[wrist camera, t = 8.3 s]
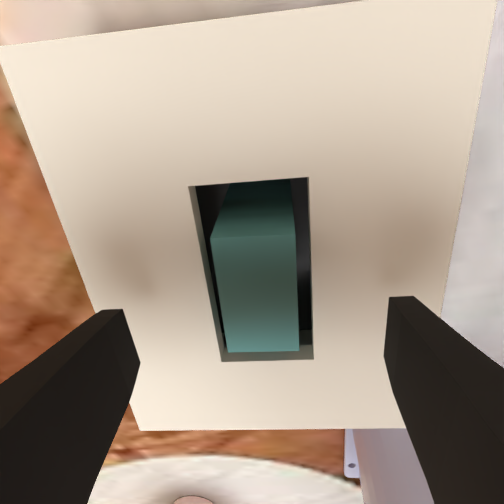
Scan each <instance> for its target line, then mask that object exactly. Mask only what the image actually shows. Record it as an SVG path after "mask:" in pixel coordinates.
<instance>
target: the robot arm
mask: <svg viewBox="0 0 504 504" xmlns="http://www.w3.org/2000/svg"><path fill="white" fill-rule="evenodd" d="M383 356H384V360H385V364H386V368H387V373H388V377H389V381H390V384H391V388H392V392H393V395H394V397H395V400H396V403H397V405H398V408H399V411H400V413H401V416H402V419H403V421H404V424H405V426H406V428H378V429H345V436H344V474H345V476H347V477H349V478H360V483H361V489H362V494H363V499H364V504H504V368H503V367H501V366H500V365H499V364H497V363H496V362H494V361H493V360H492V359H490V358H489V357H488V356H487V355H485V354H484V353H483V352H481V351H480V350H479V349H477V348H476V347H475V346H474V345H472V344H471V343H470V342H469V341H467V340H466V339H465V338H464V337H462V336H461V335H460V334H459V333H457V332H456V331H455V330H454V329H453V328H451V327H450V326H449V325H448V324H447V323H445V322H444V321H443V320H442V319H441V318H439V317H438V316H437V315H436V314H435V313H433V312H432V311H431V310H430V309H429V308H428V307H426V306H425V305H424V304H423V303H422V302H421V301H419V300H418V299H417V298H416V297H414V296H397V297H389V302H388V312H387V323H386V334H385V344H384V355H383ZM140 363H141V362H140V359H139V356H138V353H137V350H136V347H135V344H134V341H133V338H132V335H131V332H130V329H129V326H128V323H127V320H126V317H125V314H124V311H123V309H105V310H101V311H99V312H98V313H96V314H95V315H93V316H92V317H90V318H89V319H88V320H86V321H85V322H84V323H82V324H81V325H80V326H78V327H77V328H76V329H74V330H73V331H72V332H70V333H69V334H68V335H66V336H65V337H64V338H63V339H61V340H60V341H59V342H57V343H56V344H55V345H53V346H52V347H51V348H49V349H48V350H47V351H45V352H44V353H43V354H41V355H40V356H39V357H38V358H36V359H35V360H34V361H32V362H31V363H29V364H28V365H27V366H25V367H24V368H22V369H21V370H20V371H18V372H17V373H15V374H14V375H13V376H11V377H10V378H8V379H7V380H5V381H4V382H3V383H1V384H0V504H87V503H88V500H89V497H90V494H91V492H92V489H93V486H94V484H95V481H96V479H97V476H98V474H99V472H100V469H101V467H102V465H103V462H104V460H105V458H106V455H107V453H108V451H109V448H110V446H111V444H112V441H113V439H114V437H115V434H116V432H117V430H118V427H119V425H120V423H121V420H122V418H123V416H124V413H125V411H126V408H127V406H128V404H129V401H130V399H131V396H132V393H133V389H134V386H135V382H136V379H137V375H138V371H139V367H140Z"/></svg>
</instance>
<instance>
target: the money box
mask: <svg viewBox="0 0 504 504" xmlns="http://www.w3.org/2000/svg"><path fill="white" fill-rule="evenodd" d="M496 5H497V0H363V1H355V2H347V3H339V4H332V5H324V6H316V7H308V8H300V9H292V10H284V11H276V12H268V13H260V14H252V15H244V16H236V17H228V18H220V19H212V20H204V21H196V22H188V23H180V24H172V25H164V26H156V27H148V28H141V29H133V30H125V31H117V32H109V33H101V34H93V35H85V36H77V37H69V38H61V39H53V40H45V41H37V42H29V43H21V44H13V45H5V46H0V63H1V66H2V68H3V71H4V74H5V76H6V79H7V81H8V84H9V87H10V89H11V92H12V95H13V97H14V100H15V103H16V105H17V108H18V110H19V113H20V116H21V118H22V121H23V124H24V126H25V129H26V132H27V134H28V137H29V139H30V142H31V145H32V147H33V150H34V153H35V155H36V158H37V160H38V163H39V166H40V168H41V171H42V174H43V176H44V179H45V182H46V184H47V187H48V189H49V192H50V195H51V197H52V200H53V203H54V205H55V208H56V210H57V213H58V216H59V218H60V221H61V224H62V226H63V229H64V232H65V234H66V237H67V239H68V242H69V245H70V247H71V250H72V253H73V255H74V258H75V261H76V263H77V266H78V268H79V271H80V274H81V276H82V279H83V282H84V284H85V287H86V289H87V292H88V295H89V297H90V300H91V303H92V305H93V308H94V311H95V313H98V312H99V311H101V310H105V309H123V311H124V314H125V317H126V320H127V323H128V326H129V329H130V332H131V335H132V338H133V341H134V344H135V347H136V350H137V353H138V356H139V359H140V362H141V363H140V367H139V371H138V375H137V379H136V382H135V386H134V389H133V393H132V396H131V399H130V401H129V403H130V405H131V408H132V411H133V413H134V416H135V418H136V421H137V424H138V426H139V429H140V431H152V430H265V429H378V428H406V426H405V424H404V421H403V419H402V416H401V413H400V411H399V408H398V405H397V403H396V400H395V397H394V395H393V392H392V388H391V384H390V381H389V377H388V373H387V368H386V364H385V360H384V356H383V355H384V344H385V334H386V323H387V312H388V302H389V297H397V296H414V297H416V298H417V299H418V300H419V301H421V302H422V303H423V304H424V305H425V306H426V307H428V308H429V309H430V310H431V311H432V312H433V313H435V314H436V315H437V316H438V317H439V318H440V316H441V310H442V304H443V299H444V293H445V288H446V282H447V277H448V271H449V266H450V260H451V255H452V249H453V243H454V238H455V232H456V227H457V221H458V216H459V210H460V205H461V199H462V194H463V188H464V182H465V177H466V171H467V166H468V160H469V155H470V149H471V144H472V138H473V133H474V127H475V122H476V116H477V110H478V105H479V99H480V94H481V88H482V83H483V77H484V72H485V66H486V61H487V55H488V49H489V44H490V38H491V33H492V27H493V22H494V16H495V11H496ZM287 178H290V183H291V194H292V204H293V215H294V225H295V239H296V268H297V297H298V326H299V351H277V352H228V349H227V343H226V337H225V330H224V324H223V318H222V311H221V305H220V299H219V292H218V286H217V280H216V273H215V267H214V261H213V254H212V248H211V242H210V237H211V234H212V232H213V229H214V226H215V223H216V221H217V218H218V215H219V212H220V210H221V207H222V204H223V201H224V198H225V196H226V193H227V190H228V187H229V185H230V183H237V182H249V181H262V180H275V179H287Z"/></svg>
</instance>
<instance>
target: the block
mask: <svg viewBox="0 0 504 504" xmlns="http://www.w3.org/2000/svg"><path fill="white" fill-rule="evenodd" d="M210 242H211V248H212V254H213V261H214V267H215V273H216V280H217V286H218V292H219V299H220V305H221V311H222V318H223V324H224V330H225V337H226V343H227V349H228V352H277V351H299V326H298V297H297V268H296V239H295V225H294V215H293V204H292V194H291V183H290V178H287V179H275V180H262V181H249V182H237V183H230V185H229V187H228V190H227V193H226V196H225V198H224V201H223V204H222V207H221V210H220V212H219V215H218V218H217V221H216V223H215V226H214V229H213V232H212V234H211V237H210Z"/></svg>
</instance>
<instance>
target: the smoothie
mask: <svg viewBox="0 0 504 504" xmlns="http://www.w3.org/2000/svg"><path fill="white" fill-rule="evenodd" d="M174 504H213V503H212V502H211V501H209V500H207V499H205V498H202V497H197V496H185V497H181V498H179V499H177V500H176V501H175V502H174Z"/></svg>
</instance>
